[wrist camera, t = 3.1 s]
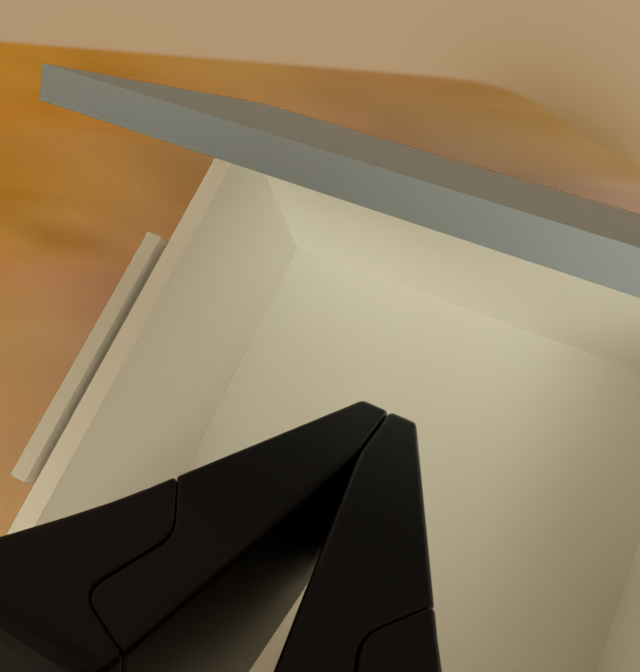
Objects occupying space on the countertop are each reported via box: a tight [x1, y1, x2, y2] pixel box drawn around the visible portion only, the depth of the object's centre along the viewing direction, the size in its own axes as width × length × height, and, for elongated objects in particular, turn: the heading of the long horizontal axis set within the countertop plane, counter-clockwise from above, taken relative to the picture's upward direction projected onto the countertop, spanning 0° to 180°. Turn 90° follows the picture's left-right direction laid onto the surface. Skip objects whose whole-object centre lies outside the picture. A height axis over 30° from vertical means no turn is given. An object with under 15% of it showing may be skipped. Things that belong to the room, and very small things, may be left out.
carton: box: [7, 158, 640, 672], centre depth 15 cm, size 15×15×7 cm
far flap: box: [40, 64, 640, 298], centre depth 10 cm, size 7×12×1 cm
